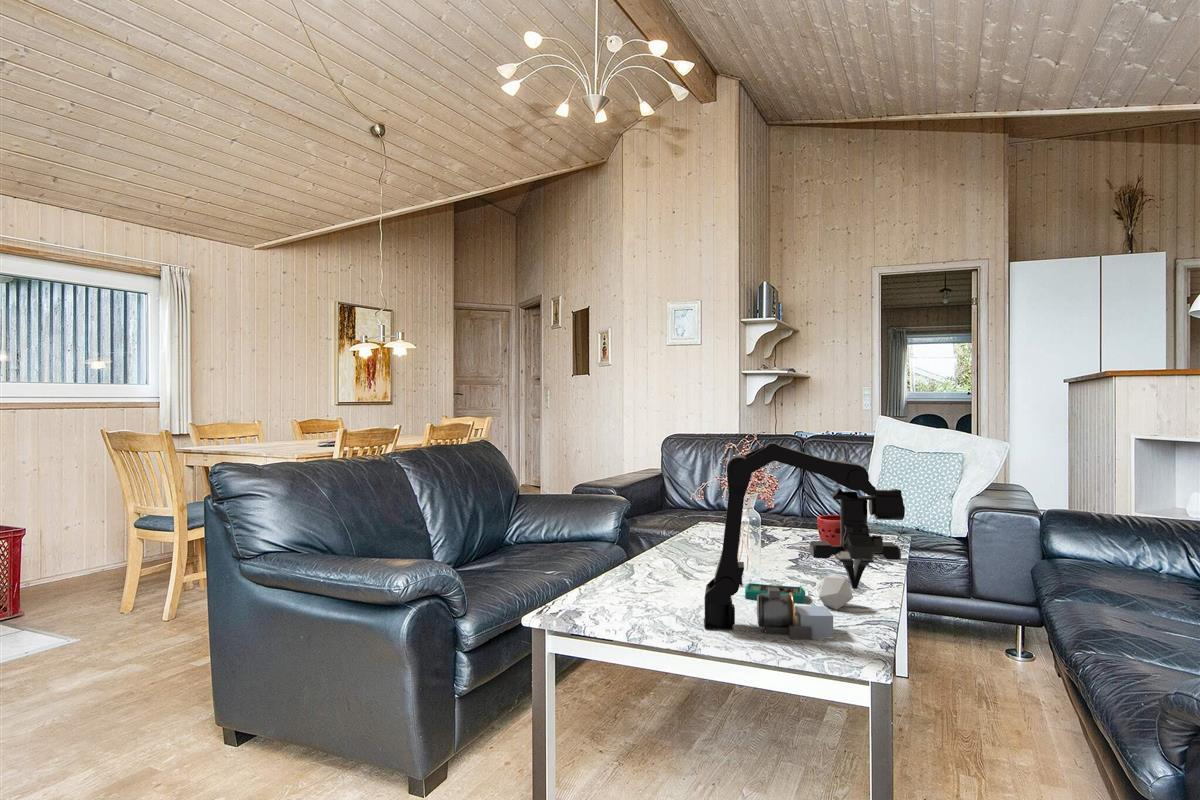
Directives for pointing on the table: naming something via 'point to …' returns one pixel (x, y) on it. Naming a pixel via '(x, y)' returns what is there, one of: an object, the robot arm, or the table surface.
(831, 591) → the die
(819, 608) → the blue-gray block
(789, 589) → the digital multimeter
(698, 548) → the table surface
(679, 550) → the table surface
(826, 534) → the plant pot
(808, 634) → the clip bracket
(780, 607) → the cylinder
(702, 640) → the table surface
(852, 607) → the table surface
